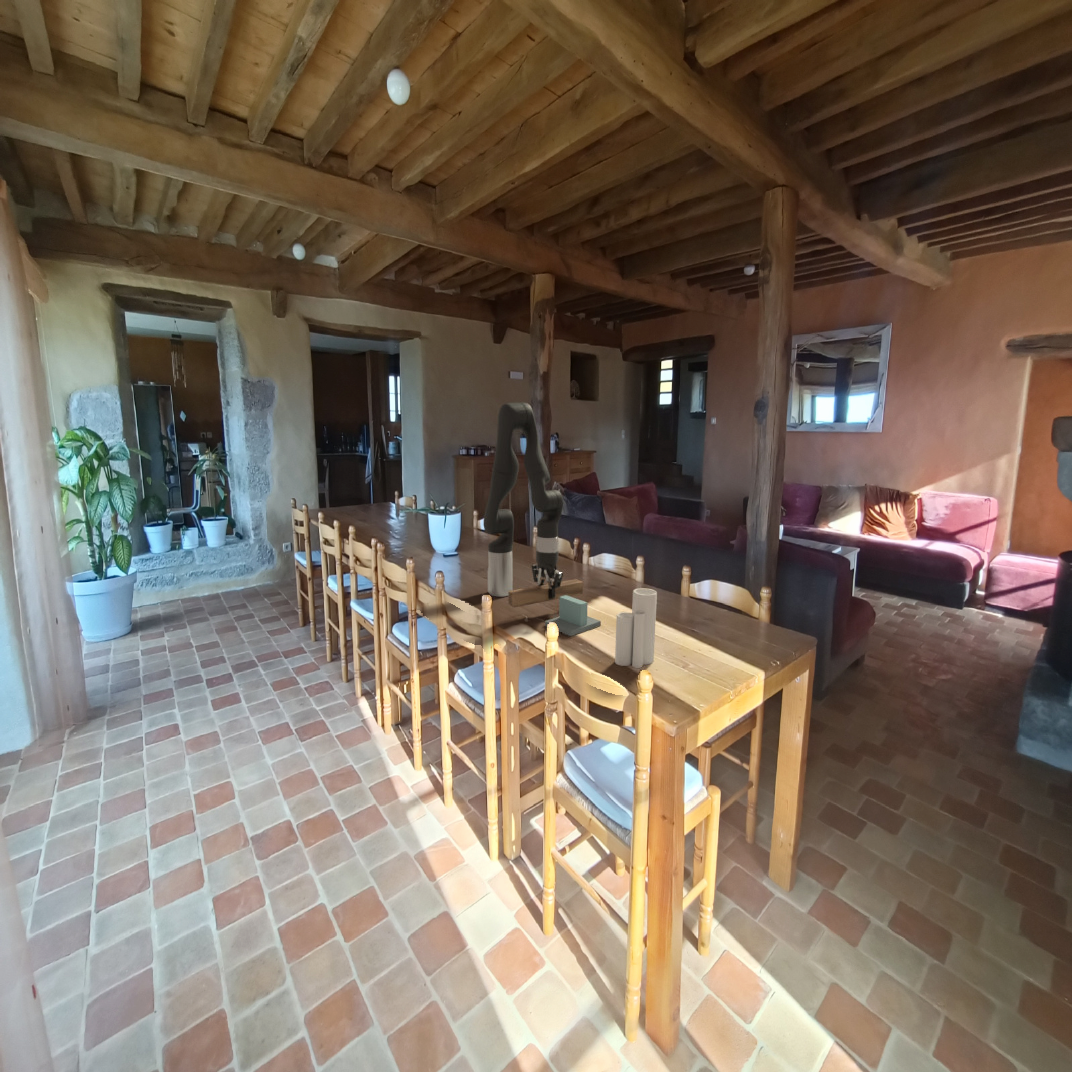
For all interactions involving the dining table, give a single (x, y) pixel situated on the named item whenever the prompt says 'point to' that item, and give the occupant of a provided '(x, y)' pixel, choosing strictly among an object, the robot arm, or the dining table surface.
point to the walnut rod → (543, 593)
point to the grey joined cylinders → (637, 630)
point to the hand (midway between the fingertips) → (546, 596)
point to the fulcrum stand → (573, 616)
